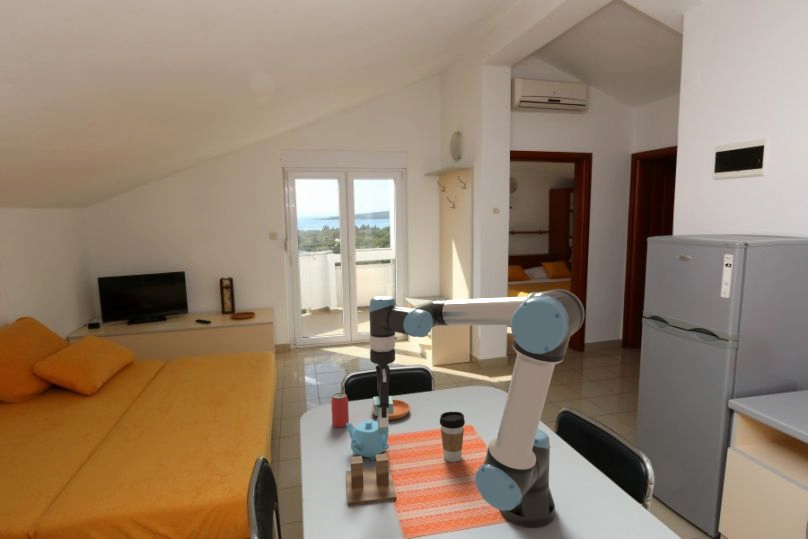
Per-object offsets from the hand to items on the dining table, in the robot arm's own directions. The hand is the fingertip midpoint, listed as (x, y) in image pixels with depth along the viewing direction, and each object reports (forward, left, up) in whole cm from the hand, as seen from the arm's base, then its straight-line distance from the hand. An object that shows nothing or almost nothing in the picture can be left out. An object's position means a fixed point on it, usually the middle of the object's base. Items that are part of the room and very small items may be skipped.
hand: (383, 421), depth 136 cm
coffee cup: (+10, -24, -20) cm, 33 cm away
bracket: (-1, +5, -20) cm, 20 cm away
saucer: (+48, -8, -20) cm, 53 cm away
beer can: (+42, +13, -20) cm, 48 cm away
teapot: (+19, +4, -20) cm, 28 cm away
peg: (0, 0, -3) cm, 3 cm away
